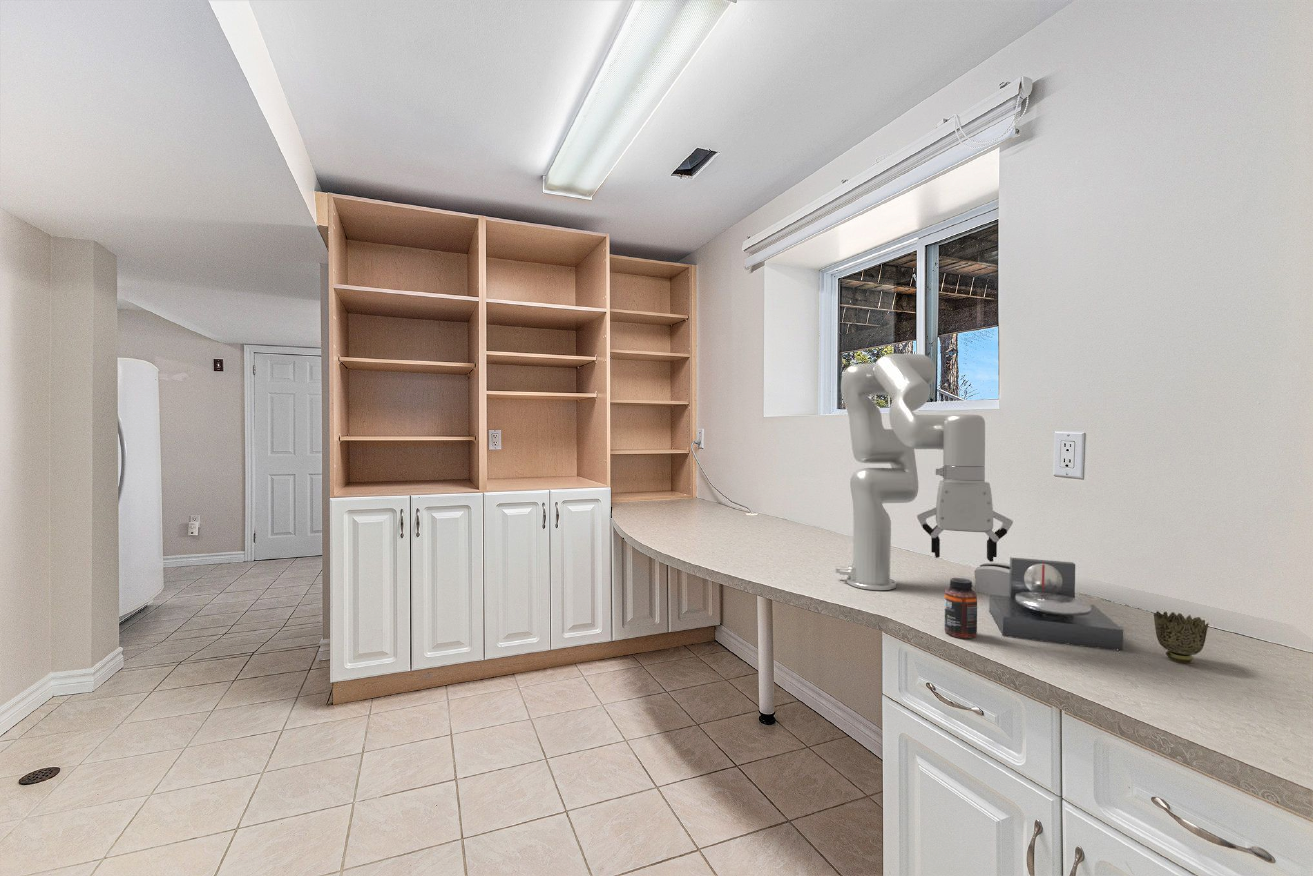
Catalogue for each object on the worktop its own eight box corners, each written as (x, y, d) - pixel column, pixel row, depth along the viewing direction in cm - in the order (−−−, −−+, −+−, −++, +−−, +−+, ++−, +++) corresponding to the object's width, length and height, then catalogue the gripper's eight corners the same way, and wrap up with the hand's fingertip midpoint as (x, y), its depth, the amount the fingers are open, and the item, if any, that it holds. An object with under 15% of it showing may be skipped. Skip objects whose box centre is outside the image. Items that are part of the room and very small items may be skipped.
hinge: (1054, 606, 137) (1047, 569, 136) (1043, 616, 136) (1035, 577, 134) (987, 589, 152) (979, 554, 151) (976, 597, 150) (968, 562, 149)
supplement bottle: (980, 634, 118) (981, 579, 118) (972, 642, 114) (973, 585, 114) (949, 627, 122) (950, 574, 122) (940, 634, 118) (941, 579, 118)
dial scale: (1002, 635, 118) (1004, 572, 117) (989, 611, 133) (990, 555, 133) (1122, 650, 110) (1124, 583, 110) (1093, 623, 126) (1094, 564, 126)
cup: (1212, 672, 101) (1213, 627, 101) (1157, 662, 105) (1158, 619, 104) (1200, 658, 107) (1201, 615, 107) (1149, 649, 111) (1150, 608, 111)
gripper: (918, 474, 117) (917, 558, 117) (1016, 477, 111) (1016, 566, 111) (916, 472, 124) (916, 551, 124) (1008, 475, 118) (1008, 558, 118)
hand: (963, 558), depth 118 cm, fingers open, 9 cm apart
